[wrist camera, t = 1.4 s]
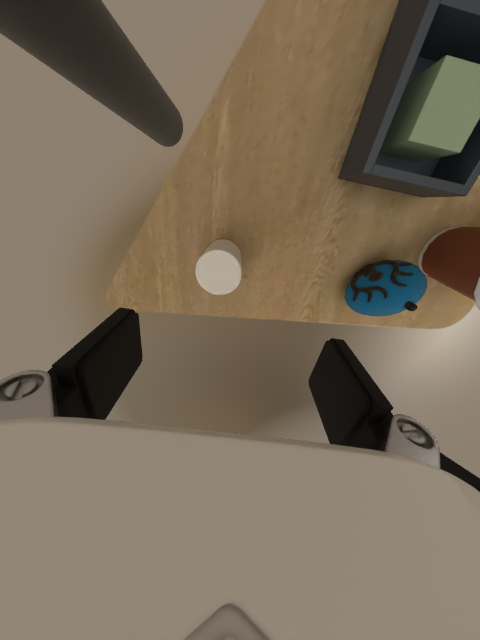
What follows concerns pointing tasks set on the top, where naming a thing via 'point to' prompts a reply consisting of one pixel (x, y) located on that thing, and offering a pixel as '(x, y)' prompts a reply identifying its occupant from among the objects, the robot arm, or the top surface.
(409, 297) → the ornament
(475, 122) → the sage block
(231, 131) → the top surface
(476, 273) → the coffee cup
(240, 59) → the top surface
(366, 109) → the dark grey divided tray
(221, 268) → the white cylinder
